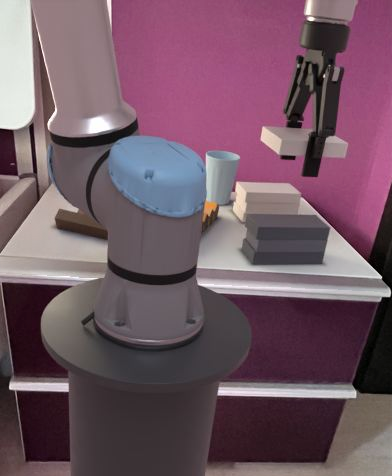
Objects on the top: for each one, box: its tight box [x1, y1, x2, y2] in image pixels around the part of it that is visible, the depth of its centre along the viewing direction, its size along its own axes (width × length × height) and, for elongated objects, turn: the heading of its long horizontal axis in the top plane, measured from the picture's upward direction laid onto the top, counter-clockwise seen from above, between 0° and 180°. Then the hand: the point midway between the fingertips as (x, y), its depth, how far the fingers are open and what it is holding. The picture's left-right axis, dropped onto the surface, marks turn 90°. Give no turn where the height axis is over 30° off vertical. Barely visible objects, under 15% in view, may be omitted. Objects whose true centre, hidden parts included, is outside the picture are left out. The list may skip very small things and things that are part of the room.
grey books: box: [241, 214, 331, 265], centre depth 104 cm, size 14×6×7 cm, turn 104°
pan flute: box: [54, 200, 220, 240], centre depth 113 cm, size 25×3×25 cm
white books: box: [232, 181, 302, 223], centre depth 122 cm, size 13×7×7 cm, turn 104°
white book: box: [260, 125, 349, 159], centre depth 96 cm, size 12×10×2 cm
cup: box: [205, 150, 241, 206], centre depth 127 cm, size 8×8×10 cm
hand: (298, 167), depth 99 cm, fingers closed on white book, 9 cm apart
